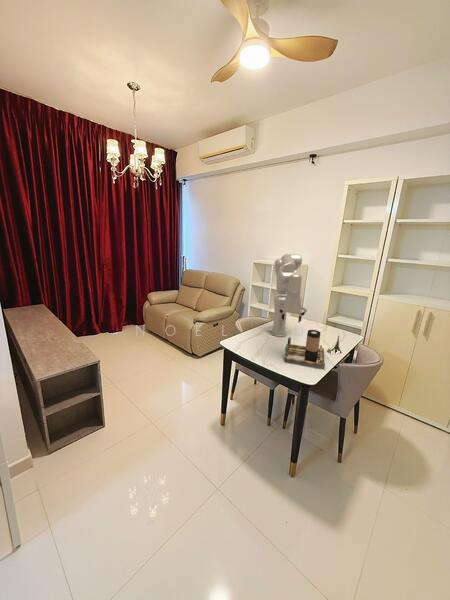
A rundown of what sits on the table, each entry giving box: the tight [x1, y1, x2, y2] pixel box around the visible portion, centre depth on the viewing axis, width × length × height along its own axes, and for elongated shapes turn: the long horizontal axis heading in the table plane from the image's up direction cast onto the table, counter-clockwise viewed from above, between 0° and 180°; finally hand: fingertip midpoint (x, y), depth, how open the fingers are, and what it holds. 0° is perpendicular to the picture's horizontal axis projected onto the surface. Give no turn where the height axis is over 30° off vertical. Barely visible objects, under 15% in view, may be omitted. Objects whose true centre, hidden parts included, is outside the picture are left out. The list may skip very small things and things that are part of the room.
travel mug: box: [304, 329, 322, 363], centre depth 151 cm, size 8×8×20 cm
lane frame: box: [283, 347, 326, 371], centre depth 160 cm, size 24×26×2 cm
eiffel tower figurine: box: [326, 335, 342, 355], centre depth 168 cm, size 15×10×13 cm
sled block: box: [286, 337, 323, 355], centre depth 166 cm, size 22×9×8 cm, turn 70°
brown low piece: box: [283, 343, 323, 366], centre depth 154 cm, size 22×12×8 cm, turn 70°
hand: (291, 321), depth 153 cm, fingers open, 9 cm apart
